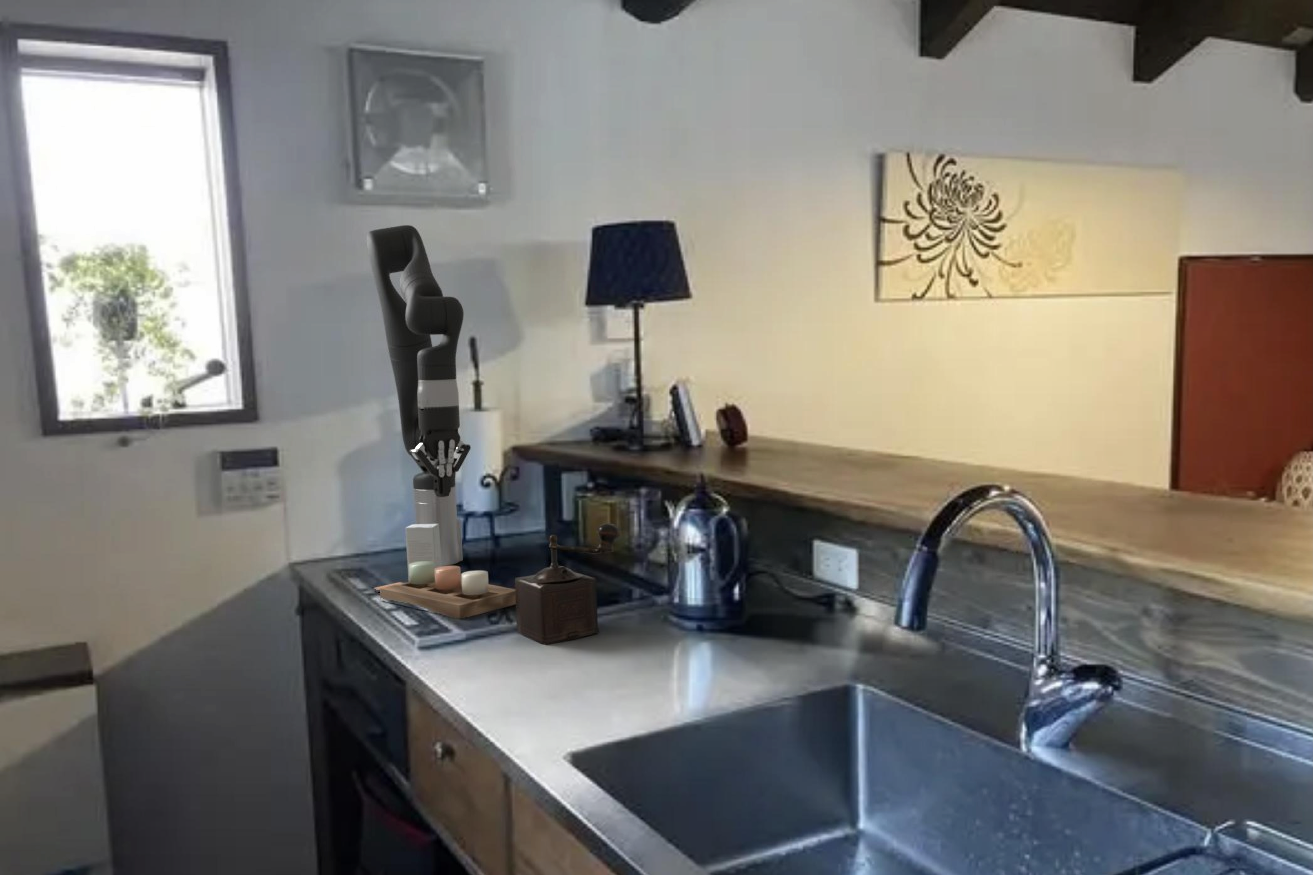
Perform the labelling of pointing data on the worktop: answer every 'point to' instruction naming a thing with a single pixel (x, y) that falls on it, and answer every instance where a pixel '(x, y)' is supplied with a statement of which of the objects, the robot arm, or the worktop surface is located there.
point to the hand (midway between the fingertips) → (442, 496)
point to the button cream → (475, 582)
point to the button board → (450, 598)
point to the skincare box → (423, 544)
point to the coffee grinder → (560, 596)
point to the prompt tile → (387, 585)
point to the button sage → (422, 572)
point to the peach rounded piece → (447, 577)
